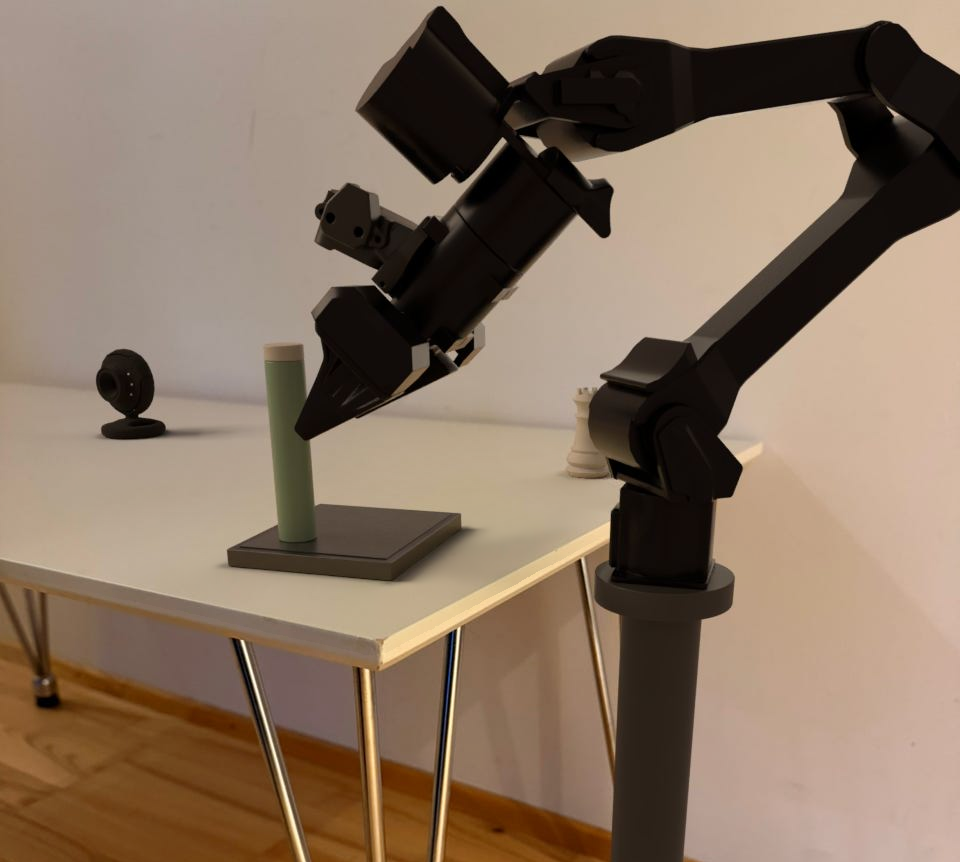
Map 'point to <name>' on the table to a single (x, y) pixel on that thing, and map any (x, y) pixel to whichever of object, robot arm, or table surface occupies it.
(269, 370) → the green cylinder
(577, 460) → the rook chess piece
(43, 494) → the table surface
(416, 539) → the plate
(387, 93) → the robot arm
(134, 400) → the webcam
